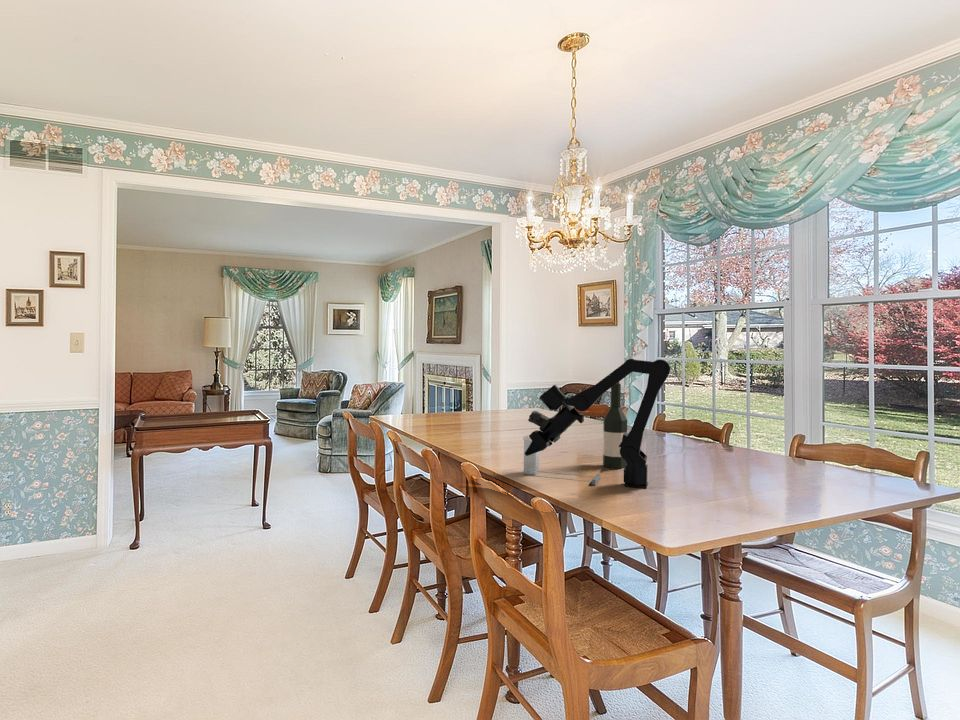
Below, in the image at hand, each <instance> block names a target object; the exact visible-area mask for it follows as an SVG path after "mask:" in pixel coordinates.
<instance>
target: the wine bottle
mask: <svg viewBox="0 0 960 720" xmlns="http://www.w3.org/2000/svg"><path fill="white" fill-rule="evenodd" d="M621 385H622V384H621V383H620V381H619V382H618V383H617V384H615V385H614V386H612V387H611V388H610V407H609V409H608V410H607V412H606V414H605V416H604V417H603V433H602V434H603V436H602V437H603V438H602V440H603V442H602V443H603V444H602V466H603V467H604V468H605V467H607V468H606V469H610V468H616V469H615V470H622V468H624V469H625V468H626V464H627V463H626V460H624V459H623V458H622V457H621V455H620V448H621V447H619V445H620V443H621V442H622V437H623V434H624V432H626V433H628V419H627V417H626V416H625V413H624V412H623V409H622V408H621V396H622V395H621V394H622V393H621V391H622V388H621V387H622V386H621Z"/></svg>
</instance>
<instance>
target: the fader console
mask: <svg viewBox="0 0 960 720" xmlns="http://www.w3.org/2000/svg"><path fill="white" fill-rule="evenodd" d="M539 473H542V471H540V470H539ZM543 473H544V474H545V473H547V474H557V475H563V472H560V473H559V472H553V471H552V472H549V471H543ZM564 475H567V476H578V477H584V475H580V474H572V473H571V474H570V473H564ZM526 477H536V478H537V477H539V478H547V479H549V478H550V479H559V480H568V481H575V479H573V478H562V477H552V476H541V475H530V474H526ZM585 477H587V478H588V477H589V478H592V480H583V479H576V481H577V482H589V483H588V486H597V484H598V483H599V482H600V481H601V473H596V474H595V476H594V475H593V476H591V475H585Z"/></svg>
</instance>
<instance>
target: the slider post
mask: <svg viewBox="0 0 960 720" xmlns="http://www.w3.org/2000/svg"><path fill="white" fill-rule="evenodd" d="M529 435H530V434H527V435H524V436H523V437H522V440H523V474H524V475H534V476H537V475H538V474H539V473H540V472H539V471H540V451H539V452H536V453H534V454H531V455H528V456H526V455H525V452H526V450H527V449H528V447H529V446H530V444H531V442H532V440H531V438H530V437H529Z"/></svg>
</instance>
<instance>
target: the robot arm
mask: <svg viewBox="0 0 960 720" xmlns="http://www.w3.org/2000/svg"><path fill="white" fill-rule="evenodd" d="M633 372H634V373H639V374H645V375H646V374H647V375H648V378H647V385H646V389H645V391H644V395H643V397H642V400H641V402H640V405H639V408H638V411H637V413H636V416H635V419H634V421H633V424H632V427H631V430H629V432H627V433H626V432H624V434H623V437H622V442H621V443H620V445H619V447H621V448H620V455H621V457H622V458H623V459H624V460H626V463H627V464H626V468H624V469H623V483H624V484H623V485H624V487H632V488H639V489H640V488H642V489H647V488H648V485H649V479H648V478H649V477H648V475H649V465H648V464H647V461H648V456H647V455H646V453H645V452H644V451H643V450H641V449H642V443H643V438H644V431H645V429H646V428H647V427H646V426H647V424H648V421H649V418H650V415H651V413H652V410H653V406H654V404H655V402H656V400H657V397H658V394H659V392H660V389H662V387H663V385H664V384H665V382H666V380H667V378H668V377H669V375H670V373H671V365H670V364H669V362H668V361H667V360H665V359H661V358H660V359H656V360H654V361H650V360H649V361H648V360H641V359H635V358H629V359H626V360H625V362H624V363H622V364H621V365H620V366H618V367H617V368H616V369H614V370H613V371H612V372H610V373H608V374H607V375H606V376H605V377H603V379H600V381H598V382H597V383H596V384H594V385H592V386H590V387H589V388H586V389H584V390H582V391H581V392H578V393H576V394H574V395H568V396H566V395H565V394H564V393H563V392H562V391H561V390H560V388H559V387H558V386H557V384H553V385H552V386H551V387H550V388H549V389H547V390H546V391H544V392H543V393H542V394H541V395H540V396H539V398H538V399H539V400H540V401H541V402H542V403H543V405H545V406H546V408H547V409H548V410H549V411H550V412H553V411H554V412H557V411H558V410H559V411H558V412H557V413H556V414H554V416H552V417H548V416H546V415H545V414H543V413H541V412H539V411H538V410H534V411H532V412H531V414H530V415H529V416H528V417H529V418H528V420H527V421H528V422H529V423H532V424H534V425H535V426H538V427H539V428H538V429H539V430H534V431H532V432H531V433H530V434H528V435H529V437H530V438H531V440H532V442H531V444H530V446H529V447H528V449H527V450H526V452H525V455H526V456H528V455H531V454H534V453H536V452H539V453H540V452H541V451H544V450H546V449H547V448H548V447H550V446H552V445H553V443H555V444H556V442H558V441H559V440H560V439H561V436H562V434H563V433H565V432H566V431H567V430H568V428H570V427H571V426H572V425H573V424H574V423H575V422H576V421H578V423H579V424H582V423H584V421H585V419H584V417H585V414H584V413H580V412H586V411H587V410H590V408H591V407H593V405H594V404H595V403H596V402H597V401H598V400H599V399H600V398H601V397H602V395H603V394H605V392H607V391H609V390H611V387H612V386H614V385H615V384H617V383H618V382H619V383H620V381H622V380H623V379H625V378H626V377H627V376H629V375H630V374H632V373H633ZM572 407H573V408H572ZM579 411H580V412H579Z"/></svg>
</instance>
